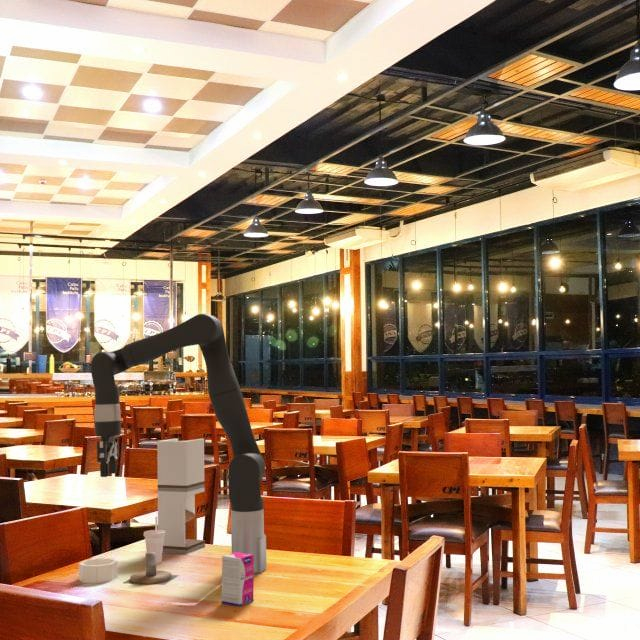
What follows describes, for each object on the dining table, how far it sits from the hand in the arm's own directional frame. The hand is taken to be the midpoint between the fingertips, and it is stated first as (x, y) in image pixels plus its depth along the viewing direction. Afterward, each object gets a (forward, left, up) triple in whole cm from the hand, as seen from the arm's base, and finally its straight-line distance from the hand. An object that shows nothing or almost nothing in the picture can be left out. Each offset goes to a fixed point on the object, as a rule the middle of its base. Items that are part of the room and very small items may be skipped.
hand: (108, 475), depth 243 cm
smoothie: (-12, -6, -27) cm, 30 cm away
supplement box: (-49, +30, -27) cm, 63 cm away
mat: (-19, +13, -27) cm, 35 cm away
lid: (-19, +13, -26) cm, 35 cm away
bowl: (-4, +14, -27) cm, 30 cm away
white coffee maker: (-12, -28, -27) cm, 41 cm away
